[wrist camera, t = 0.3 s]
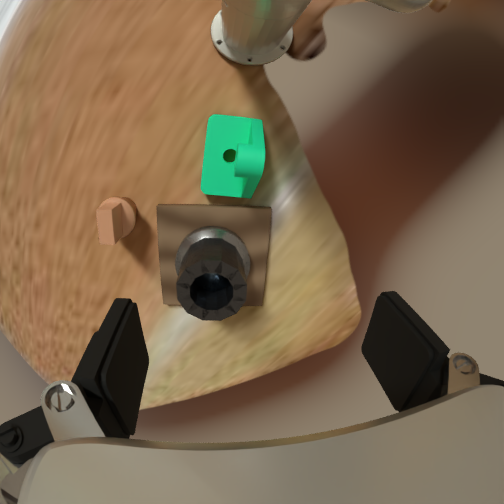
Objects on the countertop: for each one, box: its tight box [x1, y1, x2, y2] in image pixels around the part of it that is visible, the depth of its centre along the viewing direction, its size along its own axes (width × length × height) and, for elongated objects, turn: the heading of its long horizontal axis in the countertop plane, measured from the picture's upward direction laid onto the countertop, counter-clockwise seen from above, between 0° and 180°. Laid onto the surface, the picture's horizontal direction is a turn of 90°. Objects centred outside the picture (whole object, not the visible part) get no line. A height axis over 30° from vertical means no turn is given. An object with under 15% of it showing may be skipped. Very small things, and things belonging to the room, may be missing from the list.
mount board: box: [157, 204, 272, 306], centre depth 47 cm, size 18×18×2 cm
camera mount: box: [201, 114, 265, 198], centre depth 36 cm, size 12×8×10 cm, turn 173°
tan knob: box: [96, 197, 137, 245], centre depth 38 cm, size 6×6×9 cm
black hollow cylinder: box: [175, 226, 250, 321], centre depth 41 cm, size 12×12×10 cm
